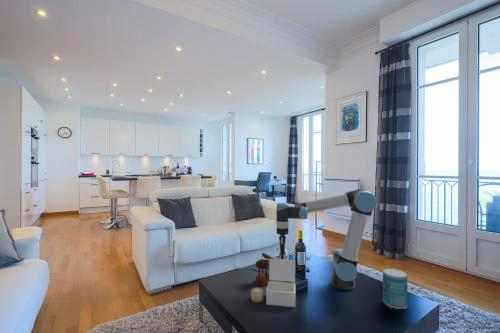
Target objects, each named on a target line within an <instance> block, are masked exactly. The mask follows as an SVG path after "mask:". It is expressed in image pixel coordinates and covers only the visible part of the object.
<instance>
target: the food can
mask: <svg viewBox="0 0 500 333" xmlns="http://www.w3.org/2000/svg"><path fill="white" fill-rule="evenodd" d="M383 302H384V303H385V304H386V305H387V306H386V305H385V304H384V303H383ZM382 303H383V304H384V305H385V306H386V307H388V306H389V307H388V308H390V307H391V308H390V309H392V308H395V309H394V310H396V309H405V310H406V309H408V274H407V273H406V272H405V271H403V270H400V269H397V268H392V267H391V268H389V267H388V268H384V269H382Z"/></svg>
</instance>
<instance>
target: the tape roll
mask: <svg viewBox="0 0 500 333" xmlns="http://www.w3.org/2000/svg"><path fill="white" fill-rule="evenodd" d="M250 290H251V291H250V293H251V295H250V299H251V302H253V303H261V302H263V301H264V290H263V288H261V287H253V288H252V289H250Z"/></svg>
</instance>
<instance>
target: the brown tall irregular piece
mask: <svg viewBox="0 0 500 333" xmlns="http://www.w3.org/2000/svg"><path fill="white" fill-rule="evenodd" d="M261 257H262V258H261V259H258V260H256V262H255V266H256V268H258V270H257V269H254V268H251V269H250V270H251V271H255V272H257V273H258V274H257V275H256V277H255V284H257V285H258V286H261V287H267V286H268V282H269V281H272V280H269V259H274V257H272V256H270V254H266V253H265V252H262V253H261ZM264 270H265V271H264Z"/></svg>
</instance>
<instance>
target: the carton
mask: <svg viewBox="0 0 500 333" xmlns="http://www.w3.org/2000/svg"><path fill="white" fill-rule="evenodd" d="M265 292H266V294H265V295H266V296H265V297H266V299H265V300H266V301H265V303H266V305H267V306H277V307H286V308H296V282H289V281H276V280H271V281H269V282H268V286H266V291H265Z"/></svg>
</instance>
